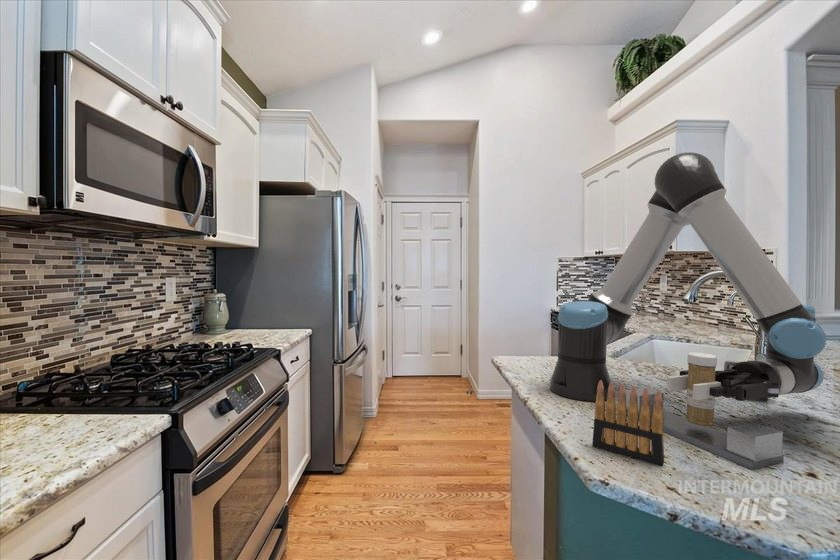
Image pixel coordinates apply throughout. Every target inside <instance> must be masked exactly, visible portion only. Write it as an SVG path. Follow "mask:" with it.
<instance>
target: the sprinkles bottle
mask: <svg viewBox="0 0 840 560" xmlns="http://www.w3.org/2000/svg"><path fill="white" fill-rule="evenodd" d="M717 364H718V358H717V355H714V354H711V353H706V352H700V351H699V352H697V351H691V352H688V353H687V365H688V366H687V368H688V369H687V370H688V379H687V390H686V415H685V418H686V420H687V421H689V422H691V423H693V424H696V425H701V426H707V427H713V426H714V425H715V420H714V419H715V418H714V415H715V414H714V413H715V405H716V404H715V403H716V401H715V400H716V398H709V399H702V400H694V399H693V384H700V383H709V382H715V371H716V369H717V366H718V365H717Z"/></svg>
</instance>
